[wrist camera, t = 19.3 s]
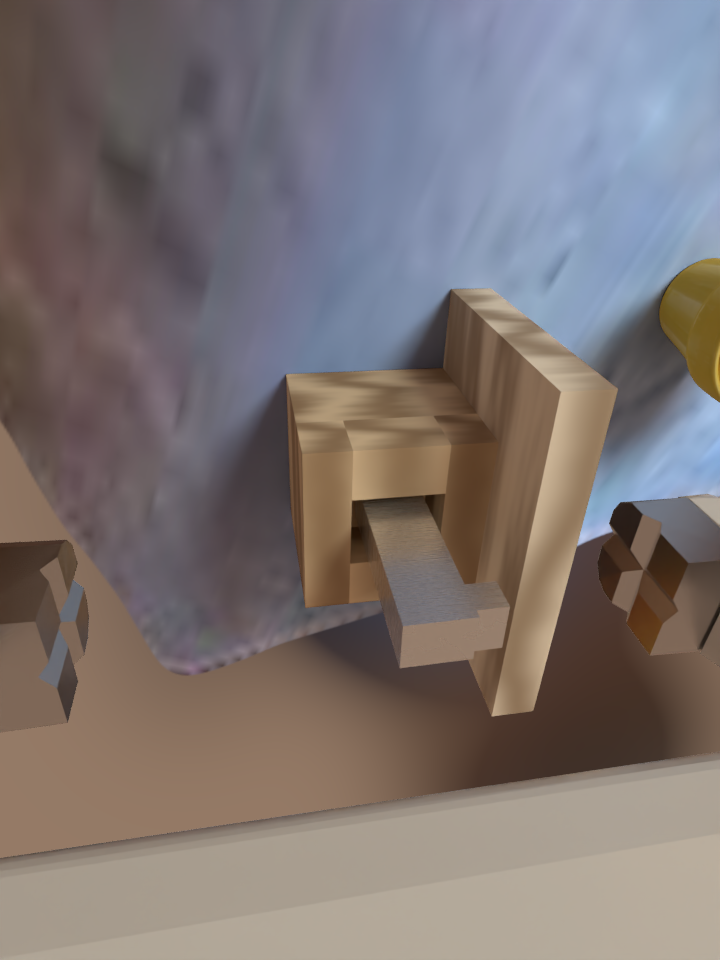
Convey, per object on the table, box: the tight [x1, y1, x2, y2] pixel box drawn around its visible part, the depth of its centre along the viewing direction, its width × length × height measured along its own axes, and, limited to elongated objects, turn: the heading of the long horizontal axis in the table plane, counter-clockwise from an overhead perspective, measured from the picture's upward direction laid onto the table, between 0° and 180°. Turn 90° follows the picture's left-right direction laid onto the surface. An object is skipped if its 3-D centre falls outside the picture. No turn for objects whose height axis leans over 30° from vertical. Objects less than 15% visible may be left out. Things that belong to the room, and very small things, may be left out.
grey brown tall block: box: [355, 495, 510, 668], centre depth 39 cm, size 6×3×14 cm, turn 89°
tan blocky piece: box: [286, 288, 618, 716], centre depth 44 cm, size 15×24×18 cm, turn 178°
